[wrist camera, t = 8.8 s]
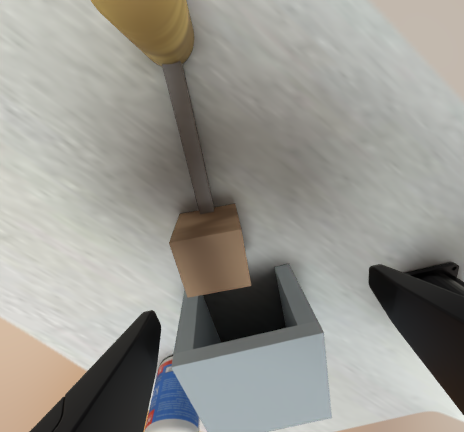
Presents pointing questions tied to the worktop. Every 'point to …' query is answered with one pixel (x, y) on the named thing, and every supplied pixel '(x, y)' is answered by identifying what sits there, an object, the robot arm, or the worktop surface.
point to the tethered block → (186, 148)
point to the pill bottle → (170, 404)
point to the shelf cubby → (254, 367)
